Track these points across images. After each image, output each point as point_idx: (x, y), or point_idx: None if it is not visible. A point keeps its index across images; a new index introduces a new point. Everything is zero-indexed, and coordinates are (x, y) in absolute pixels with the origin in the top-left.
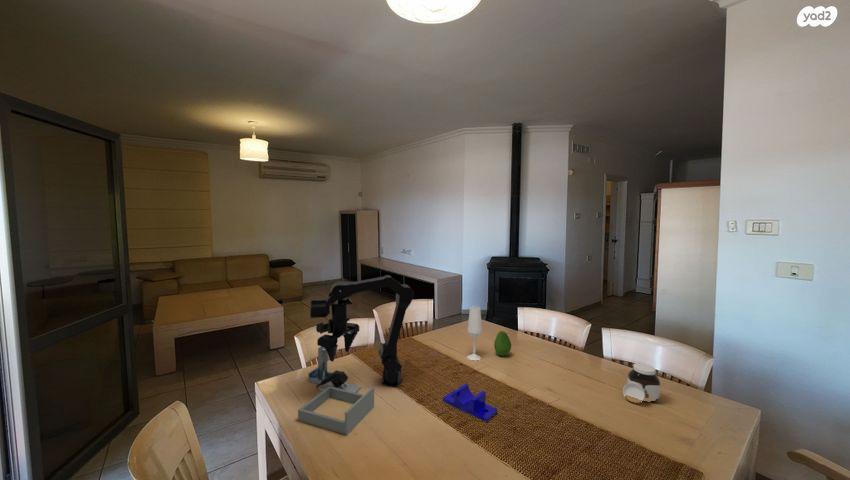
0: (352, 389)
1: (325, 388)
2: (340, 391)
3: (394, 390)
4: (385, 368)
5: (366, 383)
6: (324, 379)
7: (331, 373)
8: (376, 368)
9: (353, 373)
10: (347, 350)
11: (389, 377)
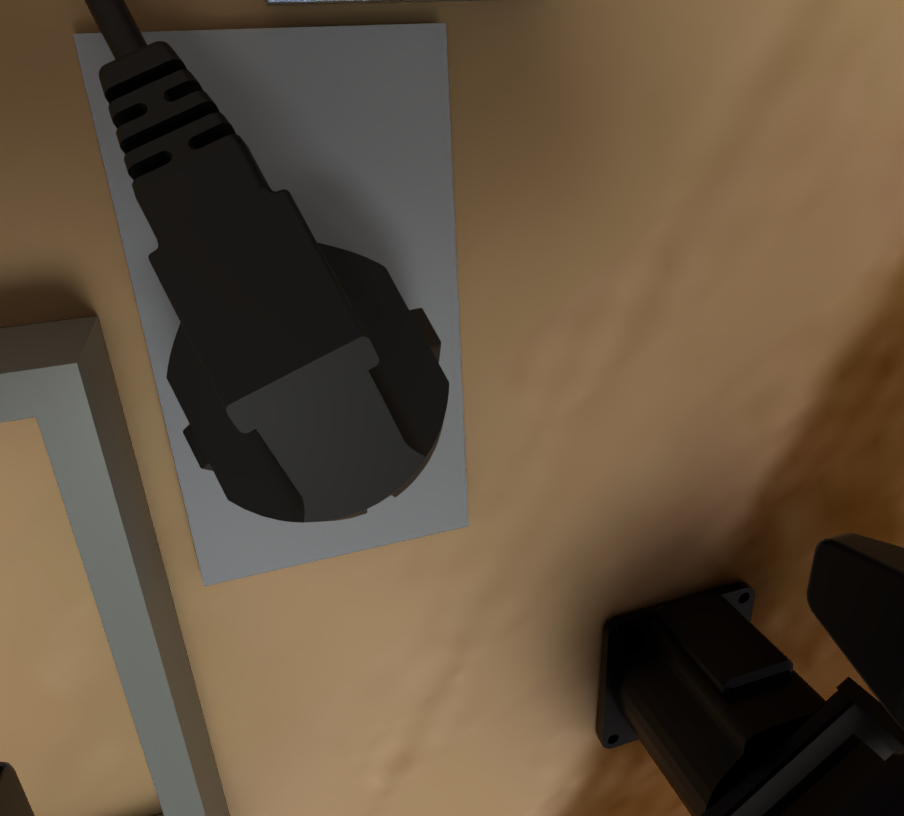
0: None
1: None
2: (94, 589)
3: (551, 757)
4: (735, 755)
5: (565, 491)
6: (171, 119)
7: (302, 229)
8: (879, 357)
9: (721, 189)
10: (840, 627)
11: (652, 748)
